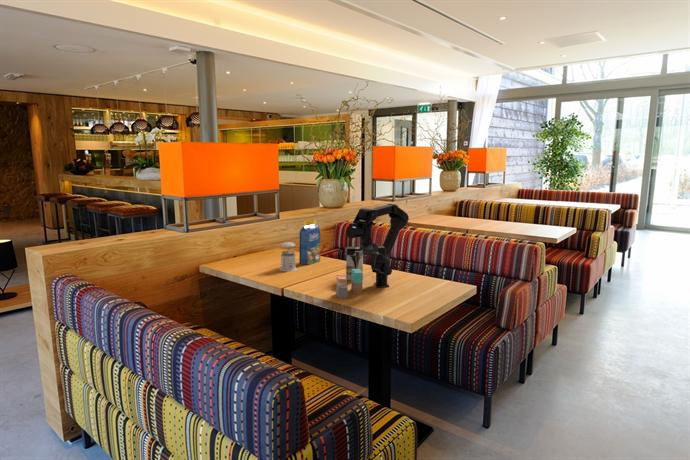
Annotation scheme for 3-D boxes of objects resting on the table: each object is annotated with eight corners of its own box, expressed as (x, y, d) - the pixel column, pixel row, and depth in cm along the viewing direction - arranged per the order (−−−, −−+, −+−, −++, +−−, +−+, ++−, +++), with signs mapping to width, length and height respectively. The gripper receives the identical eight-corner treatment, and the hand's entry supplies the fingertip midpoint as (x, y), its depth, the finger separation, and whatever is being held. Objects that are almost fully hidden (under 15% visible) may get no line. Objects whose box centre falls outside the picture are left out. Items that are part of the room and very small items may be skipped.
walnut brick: (351, 289, 216) (351, 279, 215) (359, 289, 216) (359, 279, 216) (353, 293, 209) (354, 283, 208) (362, 293, 210) (362, 283, 209)
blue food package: (299, 263, 263) (299, 221, 259) (312, 259, 273) (312, 218, 269) (307, 265, 260) (307, 222, 255) (320, 261, 270) (320, 219, 265)
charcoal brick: (336, 294, 209) (336, 283, 208) (344, 293, 209) (345, 283, 209) (338, 298, 202) (338, 288, 201) (347, 298, 203) (347, 287, 202)
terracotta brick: (336, 285, 223) (336, 275, 222) (344, 284, 223) (344, 275, 222) (338, 289, 216) (338, 279, 215) (346, 289, 217) (346, 278, 216)
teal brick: (351, 279, 215) (351, 269, 214) (359, 279, 216) (360, 268, 215) (354, 283, 208) (354, 273, 207) (362, 283, 209) (362, 272, 208)
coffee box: (357, 281, 229) (358, 250, 227) (345, 279, 231) (346, 249, 229) (362, 276, 238) (363, 246, 235) (351, 275, 240) (351, 245, 237)
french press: (293, 266, 257) (293, 222, 253) (300, 271, 247) (300, 226, 242) (277, 267, 253) (276, 223, 248) (283, 273, 242) (283, 227, 238)
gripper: (348, 239, 201) (348, 273, 203) (389, 238, 203) (388, 272, 206) (344, 234, 211) (344, 267, 214) (383, 233, 214) (383, 265, 217)
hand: (365, 268), depth 213 cm, fingers open, 9 cm apart
